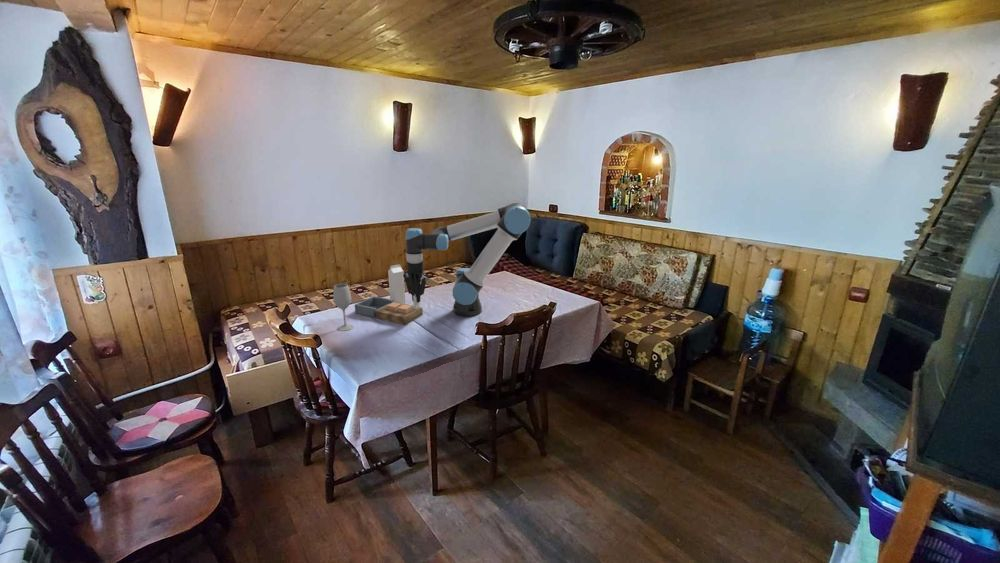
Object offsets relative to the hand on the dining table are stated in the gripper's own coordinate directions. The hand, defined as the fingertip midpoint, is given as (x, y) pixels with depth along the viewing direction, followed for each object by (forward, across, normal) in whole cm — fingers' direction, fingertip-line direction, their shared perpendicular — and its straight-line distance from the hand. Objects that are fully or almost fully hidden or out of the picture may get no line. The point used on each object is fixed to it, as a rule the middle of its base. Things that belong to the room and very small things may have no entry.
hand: (416, 307), depth 192 cm
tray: (+7, +26, 0) cm, 27 cm away
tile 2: (+3, +7, 0) cm, 8 cm away
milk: (+7, +23, -14) cm, 28 cm away
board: (+7, +11, 0) cm, 13 cm away
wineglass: (+8, +25, +22) cm, 34 cm away
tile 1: (+3, +14, 0) cm, 14 cm away
